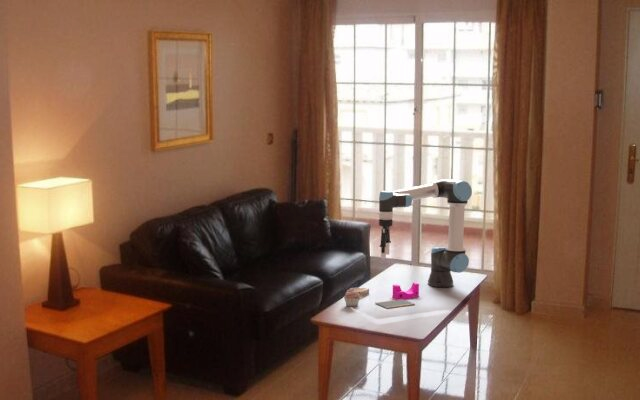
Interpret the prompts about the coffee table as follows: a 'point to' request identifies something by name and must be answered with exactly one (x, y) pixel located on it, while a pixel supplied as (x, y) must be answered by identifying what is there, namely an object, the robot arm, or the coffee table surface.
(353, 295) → the cupcake
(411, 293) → the toy block
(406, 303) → the mat
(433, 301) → the coffee table surface
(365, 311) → the coffee table surface
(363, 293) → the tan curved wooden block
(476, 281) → the coffee table surface
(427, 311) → the coffee table surface
